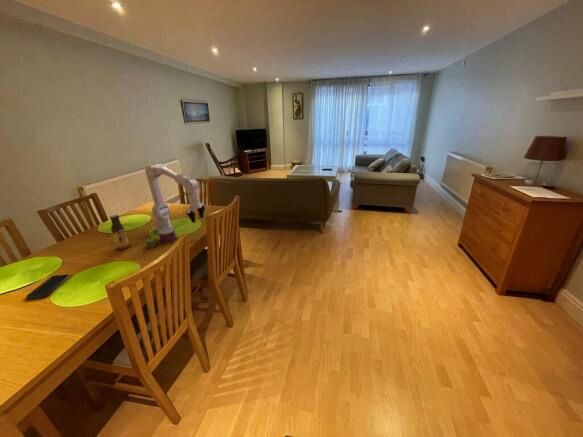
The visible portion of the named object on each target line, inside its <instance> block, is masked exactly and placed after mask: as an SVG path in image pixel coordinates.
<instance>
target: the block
mask: <svg viewBox="0 0 583 437" xmlns="http://www.w3.org/2000/svg"><path fill="white" fill-rule="evenodd" d="M157 244H158V243H157V239H156V237H154V238H147V239H146V241H145V245H146V249H151V248H156V246H157Z"/></svg>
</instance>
